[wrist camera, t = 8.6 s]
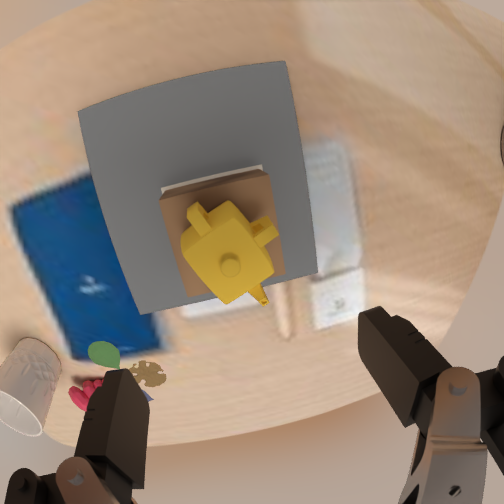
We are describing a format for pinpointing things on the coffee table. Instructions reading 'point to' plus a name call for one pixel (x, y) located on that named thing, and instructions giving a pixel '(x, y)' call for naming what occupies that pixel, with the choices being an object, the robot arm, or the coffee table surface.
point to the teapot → (229, 251)
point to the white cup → (28, 386)
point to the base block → (209, 197)
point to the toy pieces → (110, 357)
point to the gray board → (195, 167)
